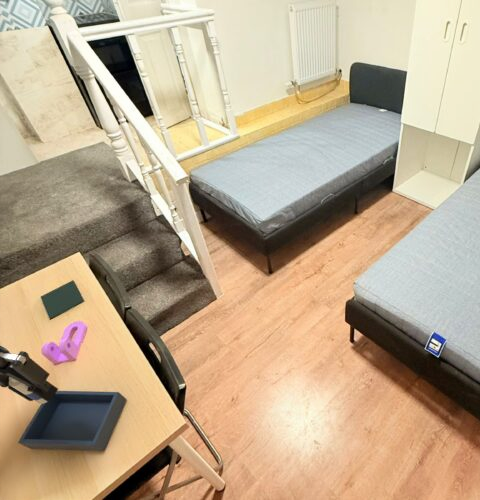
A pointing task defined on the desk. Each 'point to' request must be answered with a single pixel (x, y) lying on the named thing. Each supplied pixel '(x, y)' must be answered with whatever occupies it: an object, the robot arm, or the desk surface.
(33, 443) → the dark blue tray
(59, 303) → the desk mat
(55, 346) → the bracket
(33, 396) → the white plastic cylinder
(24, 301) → the desk surface
